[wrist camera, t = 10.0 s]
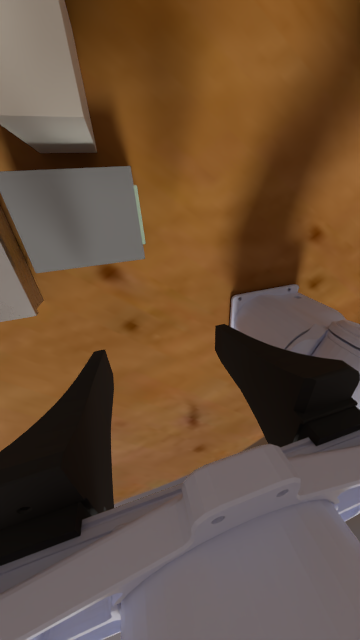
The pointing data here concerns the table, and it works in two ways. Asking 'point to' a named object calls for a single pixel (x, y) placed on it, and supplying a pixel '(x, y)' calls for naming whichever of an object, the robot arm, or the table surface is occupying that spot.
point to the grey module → (42, 78)
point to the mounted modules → (75, 216)
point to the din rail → (15, 278)
